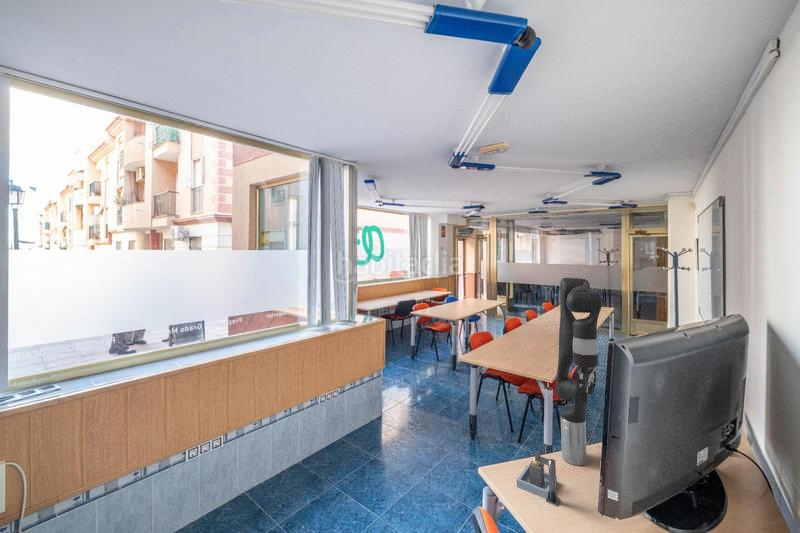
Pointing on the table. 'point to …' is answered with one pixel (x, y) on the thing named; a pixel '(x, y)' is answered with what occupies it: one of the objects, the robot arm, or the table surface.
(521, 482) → the bay
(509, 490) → the table surface
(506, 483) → the table surface
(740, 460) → the table surface
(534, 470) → the plug block
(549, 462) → the hook post
